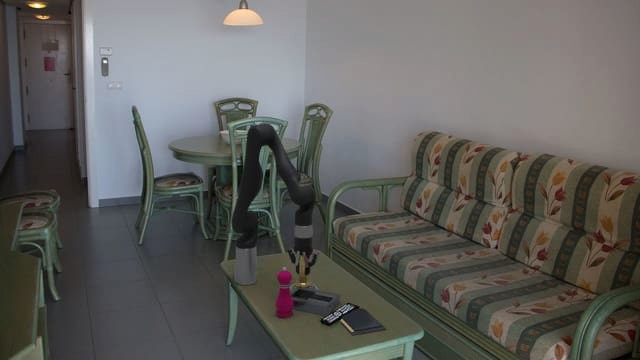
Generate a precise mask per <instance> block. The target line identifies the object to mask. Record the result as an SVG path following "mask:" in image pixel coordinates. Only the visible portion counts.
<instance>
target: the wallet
mask: <svg viewBox="0 0 640 360" xmlns="http://www.w3.org/2000/svg"><path fill="white" fill-rule="evenodd" d="M355 309H356V310H354V309H353V310H354V311H352V312H350V313H348V314H346V315H344V316H342V319H341V320H340V321H341V322H342V323H340V324H341V326H342V327H343V328H344V329H345V330H346V331H347V332H348V333H349V334H350V335H351V336H352V337H353V336H362V335H365V334H366V335H367V334H371V333H378V332H384V331H386V330H387V328H386V327H385V326H384V325H383V324H382V323H381V322H379V321H378V319H376V318H375V317H374V316H373V315H372V314H371V313H370V312H369V311H368V310H367V309H366V308H363V307H362V308H355Z"/></svg>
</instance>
